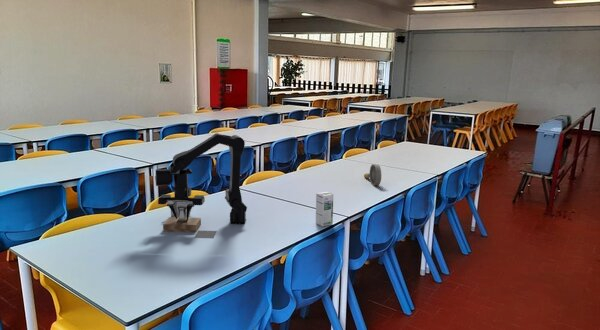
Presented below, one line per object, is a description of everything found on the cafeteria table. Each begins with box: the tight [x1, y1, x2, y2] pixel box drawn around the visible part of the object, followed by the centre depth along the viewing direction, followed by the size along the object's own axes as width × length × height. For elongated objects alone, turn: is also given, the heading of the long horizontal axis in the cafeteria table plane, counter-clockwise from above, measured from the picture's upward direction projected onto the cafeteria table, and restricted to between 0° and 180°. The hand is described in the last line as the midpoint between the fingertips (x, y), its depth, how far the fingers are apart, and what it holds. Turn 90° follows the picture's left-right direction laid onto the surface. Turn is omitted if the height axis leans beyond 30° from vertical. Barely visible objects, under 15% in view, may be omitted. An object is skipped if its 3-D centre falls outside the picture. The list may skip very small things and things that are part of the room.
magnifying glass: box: [363, 163, 382, 186], centre depth 274 cm, size 13×3×25 cm
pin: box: [178, 205, 187, 223], centre depth 189 cm, size 4×4×10 cm
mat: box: [193, 229, 218, 239], centre depth 184 cm, size 8×8×1 cm
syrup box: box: [315, 191, 334, 227], centre depth 199 cm, size 6×6×14 cm
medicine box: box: [170, 202, 191, 217], centre depth 205 cm, size 8×4×9 cm, turn 74°
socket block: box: [162, 216, 202, 233], centre depth 190 cm, size 14×9×4 cm, turn 90°
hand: (182, 218), depth 190 cm, fingers open, 4 cm apart
